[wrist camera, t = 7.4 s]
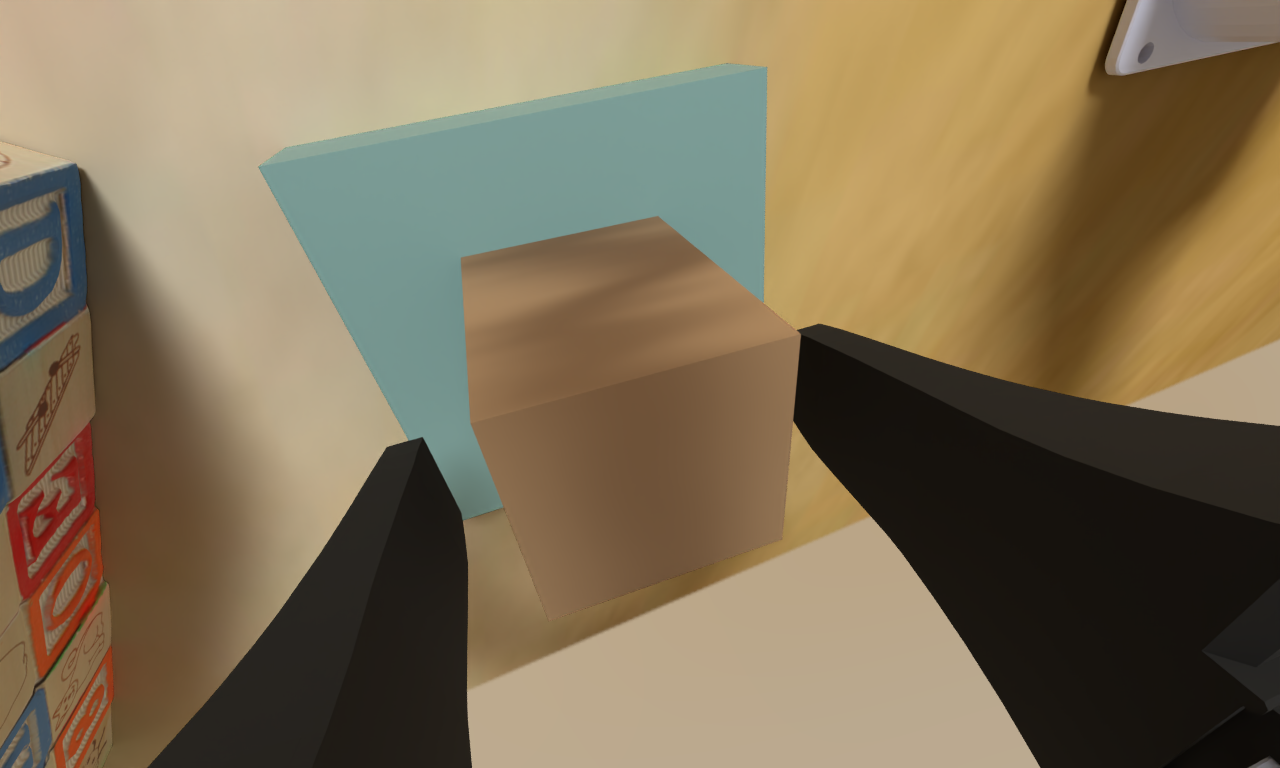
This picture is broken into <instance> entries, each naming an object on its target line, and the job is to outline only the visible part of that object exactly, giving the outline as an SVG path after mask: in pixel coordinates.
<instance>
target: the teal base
mask: <svg viewBox="0 0 1280 768" xmlns="http://www.w3.org/2000/svg"><path fill="white" fill-rule="evenodd" d="M766 112H767V67H760V66H749V65H739V64H728V63H726V64H721V65H716V66H711V67H706V68H700V69H695V70H690V71H685V72H679V73H674V74H669V75H664V76H658V77H653V78H648V79H643V80H637V81H632V82H627V83H622V84H616V85H611V86H606V87H601V88H595V89H590V90H585V91H580V92H575V93H569V94H564V95H559V96H554V97H548V98H543V99H538V100H533V101H527V102H522V103H517V104H512V105H506V106H501V107H496V108H491V109H485V110H480V111H475V112H470V113H464V114H459V115H454V116H449V117H444V118H438V119H433V120H428V121H423V122H417V123H412V124H407V125H402V126H396V127H391V128H386V129H381V130H375V131H370V132H365V133H360V134H354V135H349V136H344V137H339V138H334V139H328V140H323V141H318V142H313V143H307V144H302V145H297V146H292V147H286V148H284V149H283V150H281V151H280V152H279V153H277V154H276V155H274V156H273V157H271V158H270V159H268V160H267V161H266V162H264V163H263V164H261V165H260V166H258V167H259V169H260V171H261V173H262V175H263V177H264V178H265V180H266V182H267V184H268V186H269V187H270V189H271V191H272V193H273V195H274V197H275V198H276V200H277V202H278V204H279V206H280V207H281V209H282V211H283V213H284V215H285V216H286V218H287V220H288V222H289V224H290V226H291V227H292V229H293V231H294V233H295V235H296V236H297V238H298V240H299V242H300V244H301V246H302V247H303V249H304V251H305V253H306V255H307V256H308V258H309V260H310V262H311V264H312V266H313V267H314V269H315V271H316V273H317V275H318V276H319V278H320V280H321V282H322V284H323V285H324V287H325V289H326V291H327V293H328V295H329V296H330V298H331V300H332V302H333V304H334V305H335V307H336V309H337V311H338V313H339V315H340V316H341V318H342V320H343V322H344V324H345V325H346V327H347V329H348V331H349V333H350V335H351V336H352V338H353V340H354V342H355V344H356V345H357V347H358V349H359V351H360V353H361V355H362V356H363V358H364V360H365V362H366V364H367V365H368V367H369V369H370V371H371V373H372V374H373V376H374V378H375V380H376V382H377V384H378V385H379V387H380V389H381V391H382V393H383V394H384V396H385V398H386V400H387V402H388V404H389V405H390V407H391V409H392V411H393V413H394V414H395V416H396V418H397V420H398V422H399V424H400V425H401V427H402V429H403V431H404V433H405V434H406V436H407V438H408V440H409V441H410V440H413V439H417V438H420V437H423V438H424V440H425V442H426V444H427V446H428V448H429V450H430V452H431V454H432V456H433V458H434V460H435V462H436V464H437V466H438V468H439V470H440V471H441V473H442V475H443V477H444V479H445V481H446V483H447V485H448V487H449V489H450V491H451V493H452V495H453V497H454V499H455V501H456V503H457V505H458V507H459V509H460V511H461V513H462V519H463V520H466V519H469V518H472V517H475V516H478V515H481V514H484V513H487V512H490V511H494V510H497V509H500V508H503V505H502V502H501V499H500V497H499V494H498V492H497V489H496V487H495V484H494V482H493V479H492V477H491V474H490V472H489V469H488V467H487V464H486V462H485V459H484V456H483V454H482V451H481V449H480V446H479V444H478V441H477V439H476V436H475V434H474V431H473V429H472V426H471V424H470V409H469V392H468V375H467V358H466V341H465V324H464V306H463V289H462V272H461V257H465V256H470V255H475V254H480V253H484V252H489V251H494V250H499V249H503V248H508V247H513V246H518V245H522V244H527V243H532V242H537V241H541V240H546V239H551V238H556V237H560V236H565V235H570V234H575V233H579V232H584V231H589V230H594V229H598V228H603V227H608V226H613V225H617V224H622V223H627V222H632V221H636V220H641V219H646V218H651V217H655V216H659V217H660V218H661V219H662V220H664V221H665V222H666V223H667V224H668V225H670V226H671V227H672V228H673V229H674V230H676V231H677V232H678V233H679V234H680V235H682V236H683V237H684V238H685V239H687V240H688V241H689V242H690V243H691V244H693V245H694V246H695V247H696V248H697V249H699V250H700V251H701V252H702V253H703V254H705V255H706V256H707V257H708V258H710V259H711V260H712V261H713V262H714V263H716V264H717V265H718V266H719V267H720V268H722V269H723V270H724V271H725V272H726V273H728V274H729V275H730V276H731V277H733V278H734V279H735V280H736V281H737V282H739V283H740V284H741V285H742V286H743V287H745V288H746V289H747V290H748V291H749V292H751V293H752V294H753V295H754V296H756V297H757V298H758V299H759V300H760V301H762V302H763V303H764V241H765V177H766Z"/></svg>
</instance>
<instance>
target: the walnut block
mask: <svg viewBox="0 0 1280 768" xmlns="http://www.w3.org/2000/svg"><path fill="white" fill-rule="evenodd" d="M461 272H462V289H463V306H464V324H465V341H466V358H467V375H468V392H469V409H470V424H471V426H472V429H473V431H474V434H475V436H476V439H477V441H478V444H479V446H480V449H481V451H482V454H483V456H484V459H485V462H486V464H487V467H488V469H489V472H490V474H491V477H492V479H493V482H494V484H495V487H496V489H497V492H498V494H499V497H500V499H501V502H502V505H503V507H504V510H505V512H506V515H507V517H508V520H509V522H510V525H511V527H512V530H513V532H514V535H515V537H516V540H517V542H518V545H519V548H520V550H521V553H522V555H523V558H524V560H525V563H526V565H527V568H528V570H529V573H530V575H531V578H532V580H533V583H534V586H535V588H536V591H537V593H538V596H539V598H540V601H541V603H542V606H543V608H544V611H545V613H546V616H547V618H548V621H551V620H554V619H557V618H560V617H563V616H566V615H568V614H571V613H574V612H577V611H580V610H583V609H586V608H588V607H591V606H594V605H597V604H600V603H603V602H605V601H608V600H611V599H614V598H617V597H620V596H623V595H625V594H628V593H631V592H634V591H637V590H640V589H642V588H645V587H648V586H651V585H654V584H657V583H660V582H662V581H665V580H668V579H671V578H674V577H677V576H679V575H682V574H685V573H688V572H691V571H694V570H697V569H699V568H702V567H705V566H708V565H711V564H714V563H716V562H719V561H722V560H725V559H728V558H731V557H734V556H736V555H739V554H742V553H745V552H748V551H751V550H753V549H756V548H759V547H762V546H765V545H768V544H771V543H773V542H776V541H779V540H782V536H783V525H784V514H785V503H786V492H787V481H788V470H789V459H790V448H791V437H792V426H793V415H794V404H795V393H796V383H797V372H798V361H799V350H800V339H801V334H800V333H799V332H798V331H797V330H795V329H794V328H793V327H792V326H791V325H789V324H788V323H787V322H786V321H785V320H783V319H782V318H781V317H780V316H779V315H777V314H776V313H775V312H774V311H772V310H771V309H770V308H769V307H768V306H766V305H765V304H764V303H763V302H762V301H760V300H759V299H758V298H757V297H756V296H754V295H753V294H752V293H751V292H749V291H748V290H747V289H746V288H745V287H743V286H742V285H741V284H740V283H739V282H737V281H736V280H735V279H734V278H733V277H731V276H730V275H729V274H728V273H726V272H725V271H724V270H723V269H722V268H720V267H719V266H718V265H717V264H716V263H714V262H713V261H712V260H711V259H710V258H708V257H707V256H706V255H705V254H703V253H702V252H701V251H700V250H699V249H697V248H696V247H695V246H694V245H693V244H691V243H690V242H689V241H688V240H687V239H685V238H684V237H683V236H682V235H680V234H679V233H678V232H677V231H676V230H674V229H673V228H672V227H671V226H670V225H668V224H667V223H666V222H665V221H664V220H662V219H661V218H660V217H659V216H655V217H651V218H646V219H641V220H636V221H632V222H627V223H622V224H617V225H613V226H608V227H603V228H598V229H594V230H589V231H584V232H579V233H575V234H570V235H565V236H560V237H556V238H551V239H546V240H541V241H537V242H532V243H527V244H522V245H518V246H513V247H508V248H503V249H499V250H494V251H489V252H484V253H480V254H475V255H470V256H465V257H461Z"/></svg>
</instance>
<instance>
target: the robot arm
mask: <svg viewBox="0 0 1280 768" xmlns="http://www.w3.org/2000/svg"><path fill="white" fill-rule="evenodd" d="M1277 42H1280V0H1127V1H1126V4H1125V7H1124V10H1123V13H1122V15H1121V18H1120V21H1119V24H1118V27H1117V29H1116V32H1115V35H1114V38H1113V41H1112V43H1111V46H1110V49H1109V52H1108V55H1107V58H1106V62H1105V70H1106V72H1107V74H1108V75H1122V76H1124V75H1128V74H1133V73H1138V72H1142V71H1147V70H1151V69H1156V68H1161V67H1165V66H1170V65H1175V64H1179V63H1184V62H1189V61H1193V60H1198V59H1203V58H1207V57H1212V56H1217V55H1221V54H1226V53H1231V52H1235V51H1240V50H1245V49H1249V48H1254V47H1258V46H1263V45H1268V44H1272V43H1277ZM797 331H798V332H799V333H800V334H801V339H800V350H799V361H798V372H797V383H796V393H795V404H794V415H793V421H794V423H795V424H796V426H797V427H798V429H799V431H800V432H801V434H802V435H803V437H804V438H805V439H806V441H807V442H808V444H809V445H810V447H811V448H812V450H813V451H814V452H815V453H816V454H817V456H818V457H819V458H820V459H821V460H822V461H823V463H824V464H825V465H826V466H827V467H828V468H829V469H830V471H831V472H832V473H833V474H834V475H835V476H836V478H837V479H838V480H839V481H840V482H841V483H842V484H843V485H844V487H845V488H846V489H847V490H848V491H849V492H850V493H851V494H852V496H853V497H854V498H855V499H856V500H857V501H858V502H859V504H860V505H861V506H862V507H863V508H864V509H865V510H866V511H867V513H868V514H869V515H870V516H871V517H872V518H873V519H874V520H875V522H877V524H878V525H879V526H880V527H881V528H882V529H883V531H884V532H885V533H886V534H887V535H888V536H889V537H890V539H891V540H892V541H893V543H894V544H895V545H896V546H897V548H898V549H899V550H900V551H901V553H902V554H903V555H904V557H905V558H906V559H907V561H908V562H909V563H910V565H911V566H912V568H913V569H914V571H915V572H916V573H917V575H918V576H919V578H920V579H921V580H922V582H923V583H924V584H925V586H926V587H927V589H928V590H929V591H930V593H931V594H932V596H933V597H934V599H935V600H936V602H937V603H938V604H939V606H940V607H941V609H942V610H943V612H944V613H945V615H946V616H947V618H948V619H949V621H950V622H951V624H952V625H953V627H954V628H955V630H956V631H957V632H958V634H959V635H960V637H961V638H962V640H963V641H964V643H965V644H966V646H967V647H968V649H969V651H970V652H971V654H972V655H973V657H974V659H975V660H976V662H977V663H978V665H979V666H980V668H981V670H982V671H983V673H984V674H985V676H986V677H987V679H988V681H989V682H990V684H991V685H992V687H993V689H994V690H995V691H996V693H997V695H998V696H999V698H1000V700H1001V701H1002V703H1003V705H1004V706H1005V708H1006V710H1007V711H1008V713H1009V715H1010V716H1011V718H1012V720H1013V721H1014V723H1015V725H1016V727H1017V728H1018V730H1019V732H1020V734H1021V735H1022V737H1023V739H1024V740H1025V742H1026V744H1027V745H1028V747H1029V749H1030V750H1031V752H1032V754H1033V755H1034V757H1035V759H1036V761H1037V762H1038V764H1039V766H1040V768H1280V426H1274V425H1264V424H1256V423H1247V422H1238V421H1229V420H1220V419H1211V418H1203V417H1195V416H1189V415H1181V414H1174V413H1166V412H1160V411H1154V410H1148V409H1141V408H1136V407H1130V406H1123V405H1117V404H1111V403H1106V402H1100V401H1095V400H1090V399H1084V398H1079V397H1074V396H1070V395H1065V394H1061V393H1056V392H1052V391H1047V390H1043V389H1038V388H1034V387H1029V386H1025V385H1021V384H1017V383H1013V382H1009V381H1005V380H1001V379H998V378H994V377H990V376H987V375H983V374H980V373H976V372H973V371H969V370H966V369H962V368H959V367H955V366H952V365H949V364H946V363H942V362H939V361H936V360H933V359H930V358H927V357H923V356H920V355H917V354H914V353H911V352H908V351H905V350H902V349H899V348H896V347H893V346H890V345H887V344H884V343H881V342H878V341H875V340H872V339H869V338H866V337H863V336H860V335H857V334H854V333H851V332H848V331H845V330H841V329H838V328H834V327H831V326H827V325H823V324H817V325H813V326H810V327H806V328H803V329H799V330H797ZM467 632H468V560H467V551H466V542H465V534H464V527H463V519H462V513H461V511H460V509H459V507H458V505H457V503H456V501H455V499H454V497H453V495H452V493H451V491H450V489H449V487H448V485H447V483H446V481H445V479H444V477H443V475H442V473H441V471H440V470H439V468H438V466H437V464H436V462H435V460H434V458H433V456H432V454H431V452H430V450H429V448H428V446H427V444H426V442H425V440H424V438H423V437H420V438H417V439H413V440H410V441H406V442H403V443H399V444H396V445H392V446H389V447H387V448H386V449H385V451H384V453H383V454H382V456H381V457H380V459H379V460H378V462H377V464H376V465H375V467H374V469H373V470H372V472H371V473H370V475H369V477H368V478H367V480H366V482H365V483H364V485H363V486H362V488H361V490H360V491H359V493H358V495H357V496H356V498H355V500H354V501H353V503H352V504H351V506H350V508H349V509H348V511H347V513H346V514H345V516H344V517H343V519H342V520H341V522H340V524H339V525H338V527H337V528H336V530H335V531H334V533H333V535H332V536H331V538H330V539H329V541H328V542H327V544H326V545H325V547H324V549H323V550H322V552H321V553H320V555H319V556H318V557H317V559H316V560H315V562H314V563H313V564H312V566H311V567H310V569H309V570H308V572H307V573H306V574H305V576H304V577H303V579H302V580H301V582H300V583H299V584H298V586H297V587H296V589H295V590H294V592H293V593H292V594H291V596H290V597H289V599H288V600H287V602H286V603H285V604H284V606H283V607H282V609H281V610H280V611H279V613H278V614H277V615H276V617H275V618H274V619H273V621H272V622H271V623H270V625H269V626H268V627H267V629H266V630H265V631H264V632H263V634H262V635H261V636H260V638H259V639H258V640H257V641H256V643H255V644H254V645H253V647H252V648H251V649H250V650H249V651H248V653H247V654H246V655H245V656H244V658H243V659H242V660H241V661H240V662H239V664H238V665H237V666H236V667H235V669H234V670H233V671H232V672H231V673H230V675H229V676H228V677H227V678H226V680H225V681H224V682H223V683H222V684H221V686H220V687H219V688H218V689H217V690H216V692H215V693H214V694H213V695H212V696H211V697H210V699H209V700H208V701H207V702H206V703H205V704H204V706H203V707H202V708H201V709H200V710H199V711H198V712H197V713H196V714H195V716H194V717H193V718H192V719H191V720H190V721H189V722H188V723H187V724H186V725H185V727H184V728H183V729H182V730H181V731H180V732H179V733H178V734H177V735H176V737H175V738H174V739H173V740H172V741H171V742H170V743H169V744H168V745H167V747H166V748H165V749H164V750H163V751H162V752H161V753H160V754H159V755H158V756H157V758H156V759H155V760H154V761H153V762H152V763H151V764H150V765H149V766H148V768H472V763H471V752H470V740H469V728H468V714H467V713H468V712H467Z"/></svg>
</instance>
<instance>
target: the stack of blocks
mask: <svg viewBox="0 0 1280 768" xmlns="http://www.w3.org/2000/svg"><path fill="white" fill-rule="evenodd" d="M85 260H86V254H85V244H84V235H83V214H82V205H81V184H80V177H79V171H78V167H77V164H76V163H74V162H71V161H69V160H66V159H62V158H58V157H54V156H51V155H47V154H43V153H39V152H35V151H32V150H28V149H25V148H22V147H19V146H16V145H12V144H8V143H5V142H1V141H0V768H103V765H104V763H105V761H106V759H107V756H108V754H109V752H110V749H111V747H112V744H113V743H112V719H111V702H112V700H113V697H114V689H113V667H112V647H111V630H112V627H111V608H110V595H109V592H110V589H109V585H108V583H107V582H105V581H104V580H103V576H102V573H103V565H102V556H101V535H100V518H99V510H98V509H97V508H96V507H95V506H94V503H95V477H94V463H93V456H92V438H91V425H90V422H89V421H90V420H91V419H92V417H93V416H94V415H95V411H96V407H95V392H94V378H93V359H92V336H91V320H90V314H89V309H88V307H87V304H86V295H87V274H86V263H85Z"/></svg>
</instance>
